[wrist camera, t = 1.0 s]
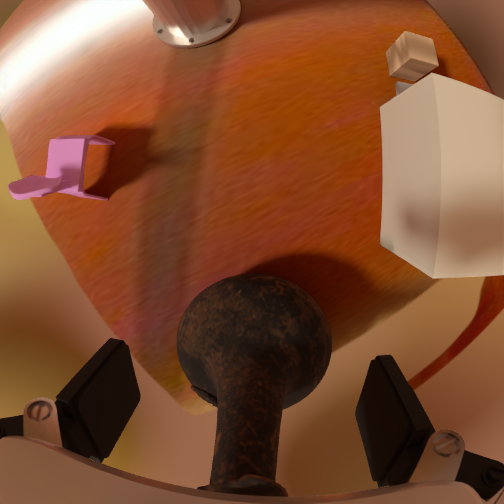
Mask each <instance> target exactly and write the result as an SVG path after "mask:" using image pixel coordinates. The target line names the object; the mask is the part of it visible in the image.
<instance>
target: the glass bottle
mask: <svg viewBox="0 0 504 504" xmlns="http://www.w3.org/2000/svg"><path fill="white" fill-rule="evenodd" d="M331 352H332V338H331V331H330V327H329V324H328V321H327V319H326V316H325V314H324V313H323V311H322V309H321V308H320V306H319V305H318V303H317V302H316V301H315V300H314V299H313V298H312V297H311V296H310V295H309V294H308V293H307V292H306V291H305V290H303V289H302V288H300V287H299V286H297V285H296V284H294V283H292V282H290V281H287V280H285V279H282V278H280V277H276V276H271V275H265V274H241V275H236V276H232V277H228V278H225V279H222V280H221V281H218V282H216V283H214V284H212V285H211V286H209V287H207V288H206V289H205V290H203V291H202V292H201V293H200V294H198V295H197V296H196V297H195V298H194V299H193V301H192V302H191V303H190V304H189V306H188V307H187V309H186V310H185V312H184V314H183V316H182V318H181V321H180V324H179V327H178V333H177V353H178V357H179V361H180V364H181V367H182V369H183V371H184V373H185V375H186V377H187V378H188V380H189V381H190V383H191V384H192V386H191V389H192V390H193V391H195V392H196V393H197V394H198V396H200V397H201V398H202V399H203V400H205V401H207V402H208V403H211V404H213V406H215V407H217V408H218V412H217V414H218V415H217V429H216V430H217V431H216V440H215V448H214V456H213V463H212V471H211V477H210V484H209V485H207V486H201V487H198V488H197V489H199V490H205V491H212V492H219V493H228V494H238V495H250V496H273V497H288V493H287V492H286V490H285V488H283V487H282V486H281V485H280V484H279V483H276V482H275V476H276V465H277V453H278V444H279V432H280V424H281V417H282V410H283V409H286V408H288V407H290V406H292V405H294V404H296V403H298V402H300V401H301V400H302V399H304V398H305V397H307V396H308V395H309V394H310V393H311V392H312V391H313V390H314V389H315V388H316V387H317V385H318V384H319V383H320V381H321V380H322V378H323V376H324V375H325V372H326V370H327V368H328V365H329V362H330V357H331Z"/></svg>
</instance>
